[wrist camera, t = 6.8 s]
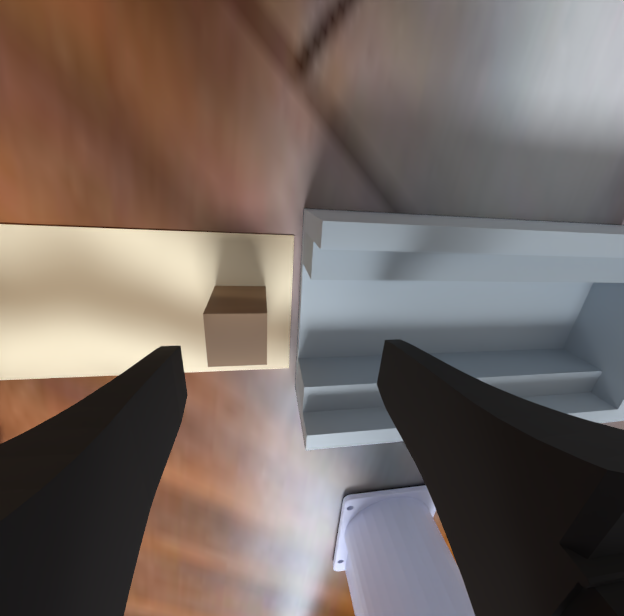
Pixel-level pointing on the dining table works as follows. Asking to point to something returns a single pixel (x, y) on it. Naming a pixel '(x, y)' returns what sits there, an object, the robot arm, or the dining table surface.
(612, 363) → the box
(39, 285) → the cover plate
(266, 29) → the dining table surface
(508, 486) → the robot arm
